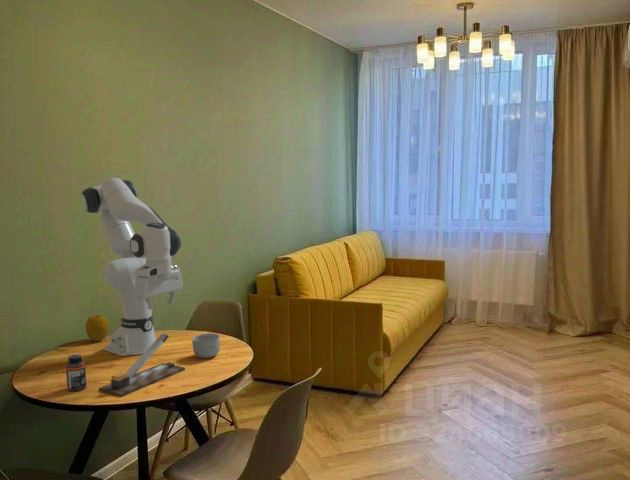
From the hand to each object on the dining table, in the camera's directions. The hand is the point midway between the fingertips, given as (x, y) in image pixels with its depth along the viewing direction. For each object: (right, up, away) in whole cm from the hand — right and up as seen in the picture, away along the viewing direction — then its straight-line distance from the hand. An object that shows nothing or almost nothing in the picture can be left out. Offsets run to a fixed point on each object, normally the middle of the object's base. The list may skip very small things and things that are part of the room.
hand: (161, 306), depth 198 cm
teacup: (+12, -22, +22) cm, 34 cm away
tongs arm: (-4, -17, -4) cm, 18 cm away
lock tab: (-10, -22, -15) cm, 28 cm away
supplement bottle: (-25, -26, -13) cm, 38 cm away
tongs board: (-5, -25, -5) cm, 26 cm away
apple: (-41, -21, +46) cm, 65 cm away
